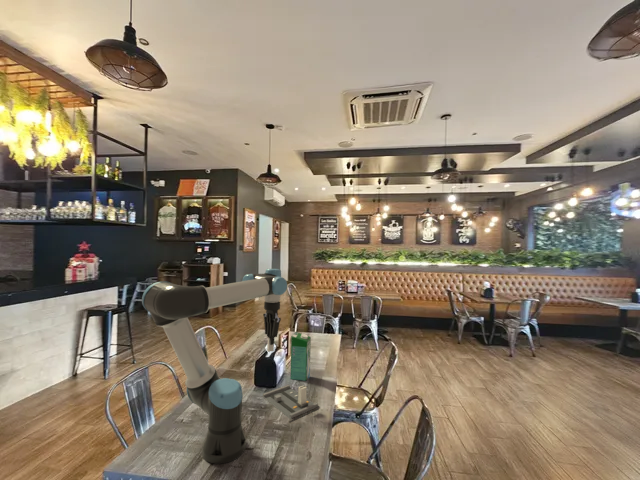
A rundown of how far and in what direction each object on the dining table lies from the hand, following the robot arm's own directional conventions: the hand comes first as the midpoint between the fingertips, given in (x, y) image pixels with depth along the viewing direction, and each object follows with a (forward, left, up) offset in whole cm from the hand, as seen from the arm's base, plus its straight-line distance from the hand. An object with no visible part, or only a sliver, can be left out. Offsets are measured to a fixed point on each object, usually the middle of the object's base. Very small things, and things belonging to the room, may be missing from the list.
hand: (270, 350), depth 141 cm
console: (+7, -7, -25) cm, 27 cm away
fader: (+9, -14, -23) cm, 29 cm away
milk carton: (+27, +11, -25) cm, 38 cm away
